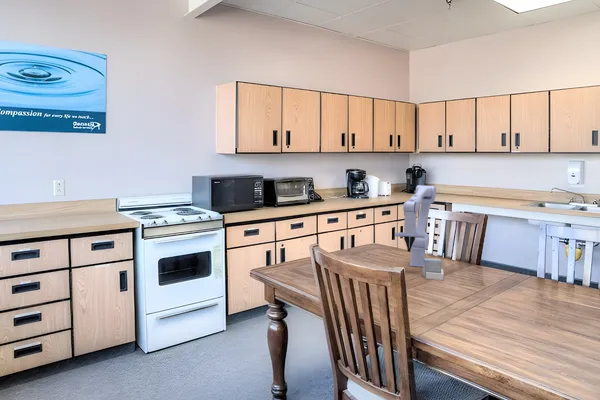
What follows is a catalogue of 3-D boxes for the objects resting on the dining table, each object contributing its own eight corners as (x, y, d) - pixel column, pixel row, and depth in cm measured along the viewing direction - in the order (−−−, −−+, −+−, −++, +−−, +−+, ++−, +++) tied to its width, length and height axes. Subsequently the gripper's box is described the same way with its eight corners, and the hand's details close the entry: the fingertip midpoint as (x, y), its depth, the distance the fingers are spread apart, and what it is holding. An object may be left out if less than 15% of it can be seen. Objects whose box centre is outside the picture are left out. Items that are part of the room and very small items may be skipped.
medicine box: (438, 275, 207) (439, 258, 206) (440, 278, 202) (441, 260, 201) (422, 275, 207) (423, 258, 206) (424, 277, 203) (424, 260, 202)
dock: (425, 273, 210) (426, 267, 210) (442, 275, 208) (443, 269, 207) (425, 278, 201) (426, 272, 201) (443, 280, 199) (443, 274, 199)
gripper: (394, 225, 209) (393, 251, 211) (425, 227, 205) (423, 254, 206) (396, 223, 216) (394, 249, 217) (425, 224, 212) (424, 251, 213)
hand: (409, 251), depth 212 cm, fingers closed
